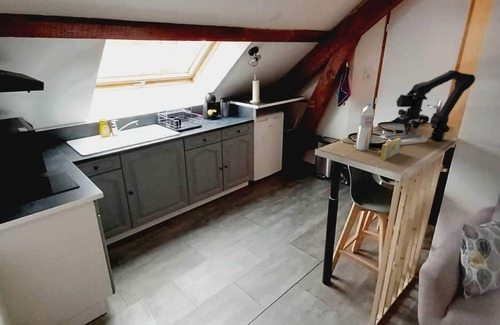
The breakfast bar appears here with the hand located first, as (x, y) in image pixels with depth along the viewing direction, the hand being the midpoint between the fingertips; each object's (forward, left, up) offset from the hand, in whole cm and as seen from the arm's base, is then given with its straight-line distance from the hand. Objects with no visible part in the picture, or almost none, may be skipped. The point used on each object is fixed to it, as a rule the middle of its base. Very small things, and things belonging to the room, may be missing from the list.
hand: (409, 133), depth 173 cm
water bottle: (+37, +5, -4) cm, 37 cm away
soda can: (+29, -3, -4) cm, 29 cm away
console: (+4, 0, -4) cm, 6 cm away
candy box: (+29, +18, -5) cm, 34 cm away
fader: (0, 0, -2) cm, 2 cm away
